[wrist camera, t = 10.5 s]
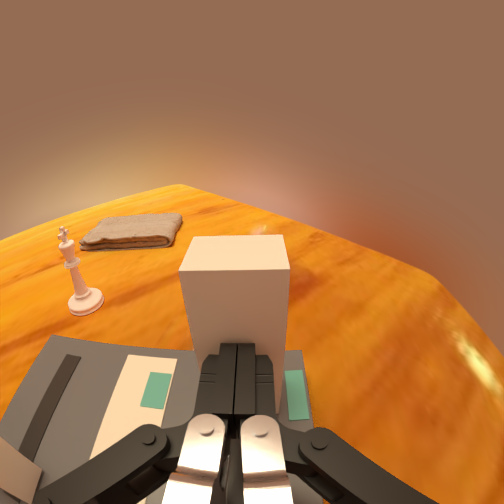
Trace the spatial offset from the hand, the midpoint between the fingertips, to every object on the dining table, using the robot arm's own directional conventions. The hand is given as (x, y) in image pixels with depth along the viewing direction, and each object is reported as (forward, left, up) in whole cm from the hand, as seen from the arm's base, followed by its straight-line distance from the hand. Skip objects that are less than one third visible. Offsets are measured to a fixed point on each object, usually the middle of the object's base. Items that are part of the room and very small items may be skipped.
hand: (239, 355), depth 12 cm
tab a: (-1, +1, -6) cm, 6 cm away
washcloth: (-41, +1, -10) cm, 42 cm away
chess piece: (-23, -9, -9) cm, 26 cm away
